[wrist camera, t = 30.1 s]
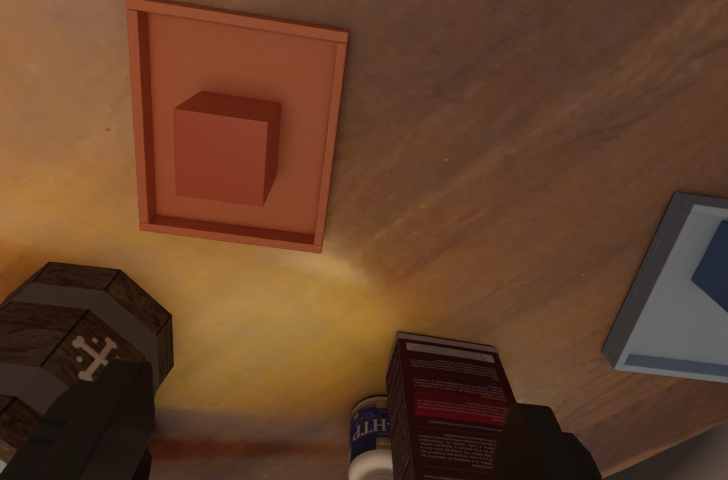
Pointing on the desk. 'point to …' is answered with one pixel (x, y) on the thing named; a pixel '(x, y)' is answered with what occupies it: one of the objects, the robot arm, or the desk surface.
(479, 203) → the desk surface
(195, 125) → the rust cube
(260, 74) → the terracotta tray
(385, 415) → the pill bottle
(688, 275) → the gray tray
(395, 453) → the supplement box
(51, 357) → the mug
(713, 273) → the blue cube
